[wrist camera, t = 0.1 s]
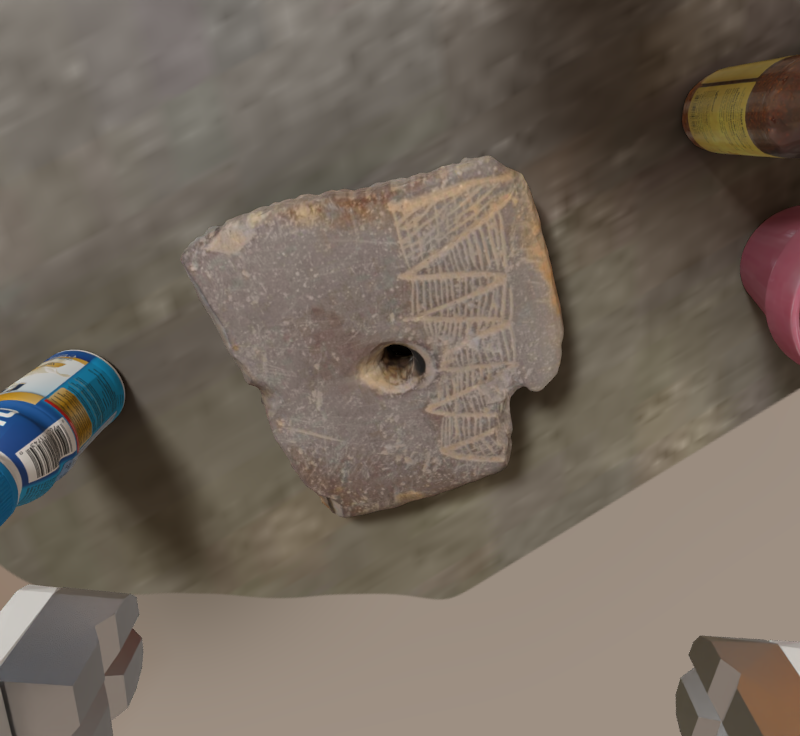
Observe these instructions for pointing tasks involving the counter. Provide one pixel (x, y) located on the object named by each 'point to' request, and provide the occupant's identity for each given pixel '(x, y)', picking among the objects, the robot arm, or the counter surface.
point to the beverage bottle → (53, 422)
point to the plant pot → (776, 276)
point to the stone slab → (388, 327)
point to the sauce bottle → (747, 110)
